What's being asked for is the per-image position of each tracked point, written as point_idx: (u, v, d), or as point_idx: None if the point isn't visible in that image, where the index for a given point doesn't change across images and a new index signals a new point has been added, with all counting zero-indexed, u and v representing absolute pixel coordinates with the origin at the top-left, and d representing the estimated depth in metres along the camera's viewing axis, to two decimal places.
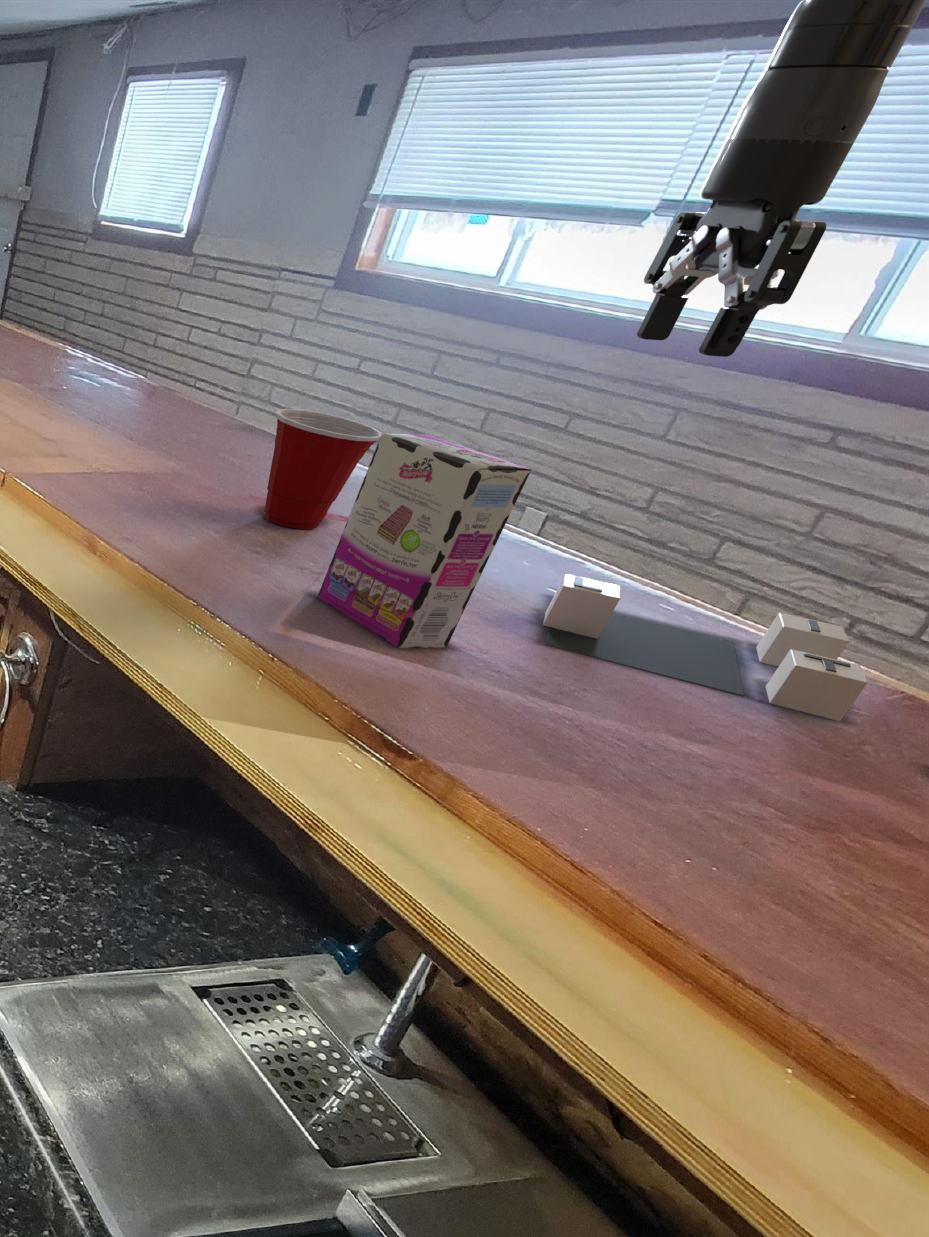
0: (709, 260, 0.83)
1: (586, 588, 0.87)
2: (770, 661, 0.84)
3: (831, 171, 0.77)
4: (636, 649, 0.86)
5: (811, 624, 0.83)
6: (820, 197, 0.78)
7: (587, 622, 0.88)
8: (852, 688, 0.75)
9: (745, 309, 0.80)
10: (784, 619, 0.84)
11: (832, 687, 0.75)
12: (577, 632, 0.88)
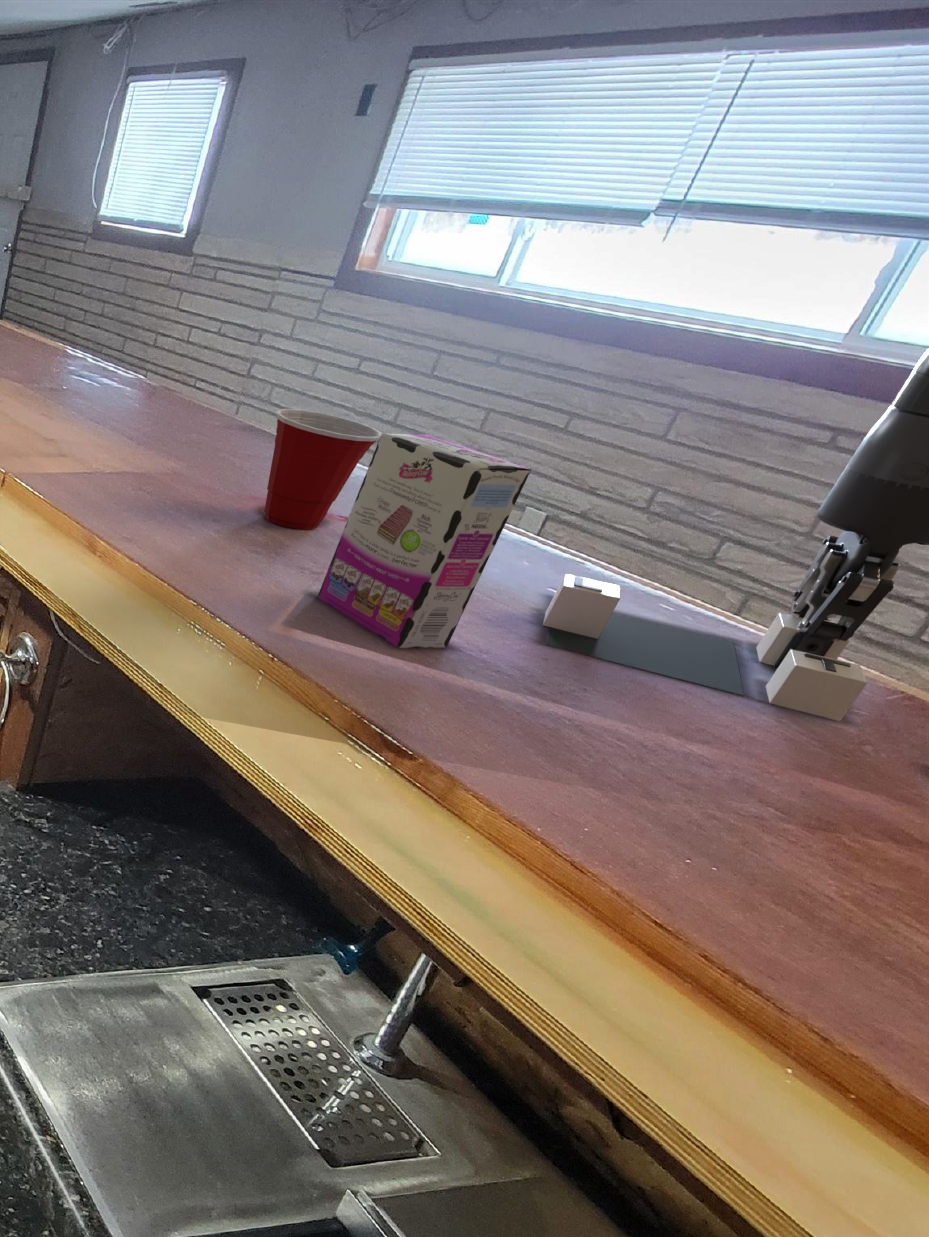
0: None
1: (586, 588, 0.87)
2: (770, 661, 0.84)
3: None
4: (636, 649, 0.86)
5: None
6: None
7: (587, 622, 0.88)
8: (852, 688, 0.75)
9: (812, 638, 0.81)
10: (784, 619, 0.84)
11: (832, 687, 0.75)
12: (577, 632, 0.88)
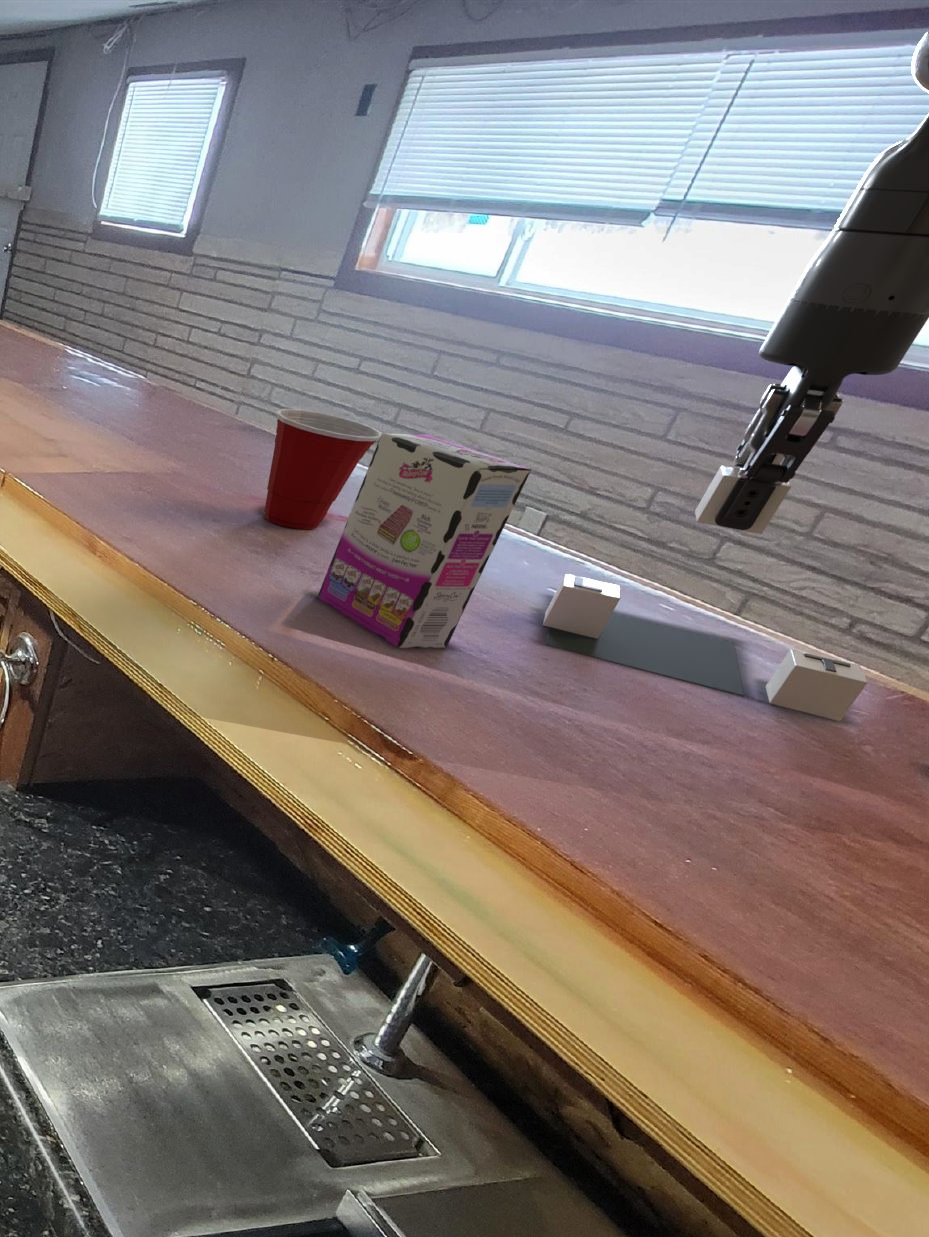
0: None
1: (586, 588, 0.87)
2: (711, 514, 0.80)
3: (884, 341, 0.71)
4: (636, 649, 0.86)
5: None
6: (875, 368, 0.71)
7: (587, 622, 0.88)
8: (852, 688, 0.75)
9: (753, 483, 0.77)
10: (725, 470, 0.80)
11: (832, 687, 0.75)
12: (577, 632, 0.88)
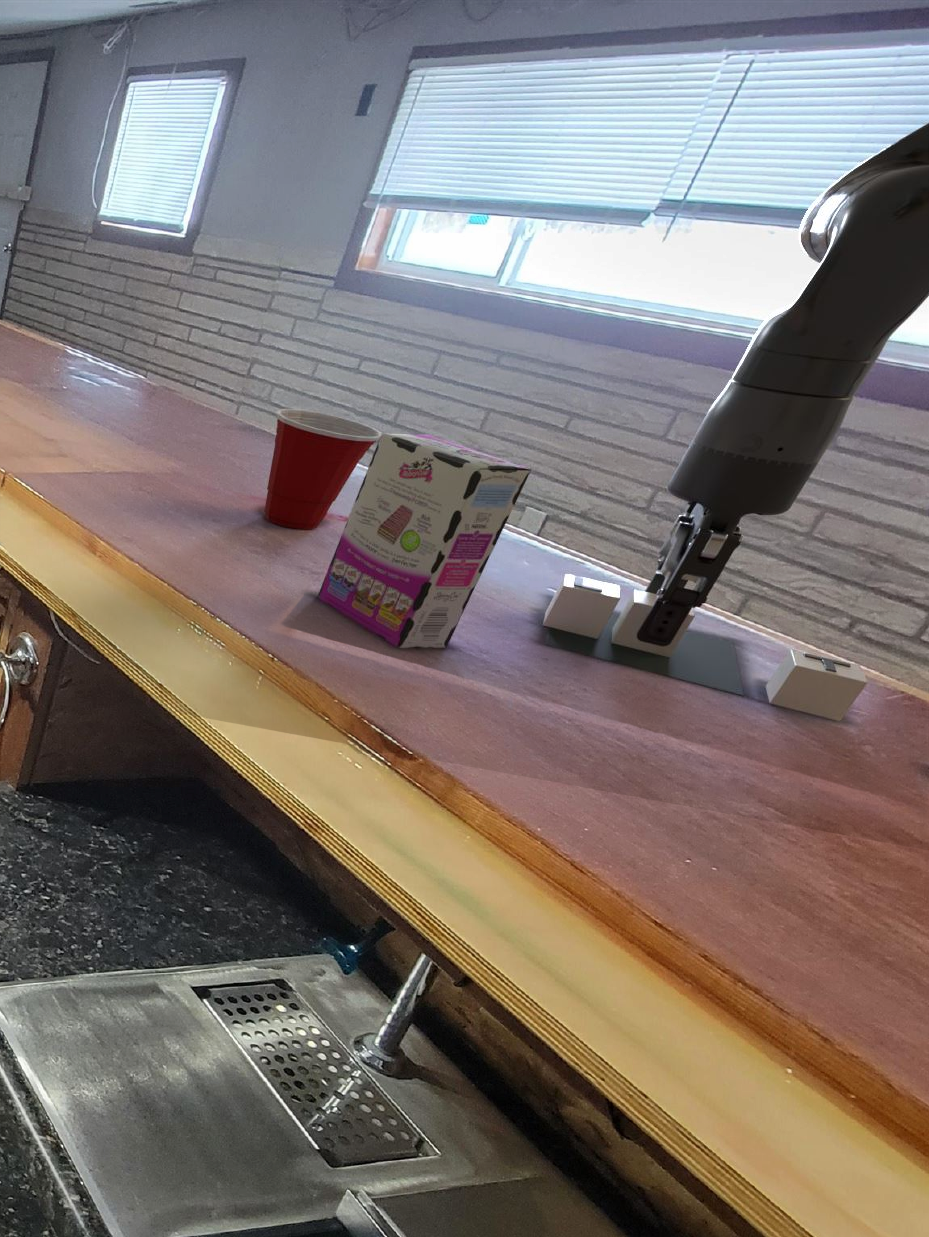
0: None
1: (586, 588, 0.87)
2: (624, 636, 0.86)
3: (775, 487, 0.76)
4: (636, 649, 0.86)
5: None
6: (769, 510, 0.77)
7: (587, 622, 0.88)
8: (852, 688, 0.75)
9: (670, 604, 0.81)
10: (637, 595, 0.86)
11: (832, 687, 0.75)
12: (577, 632, 0.88)
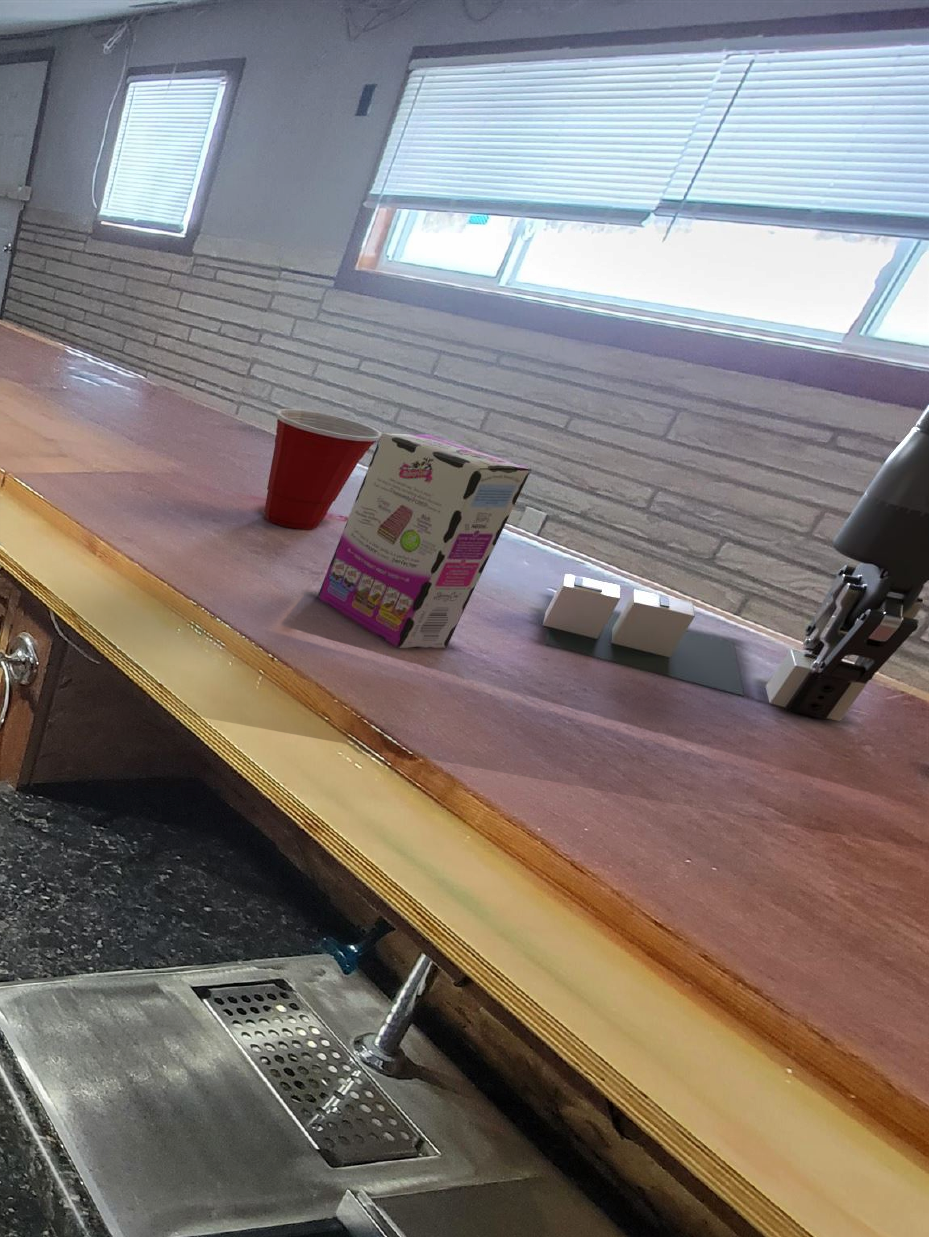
0: None
1: (586, 588, 0.87)
2: (624, 636, 0.86)
3: None
4: (636, 649, 0.86)
5: (662, 600, 0.85)
6: None
7: (587, 622, 0.88)
8: (852, 688, 0.75)
9: (828, 679, 0.74)
10: (637, 595, 0.86)
11: None
12: (577, 632, 0.88)
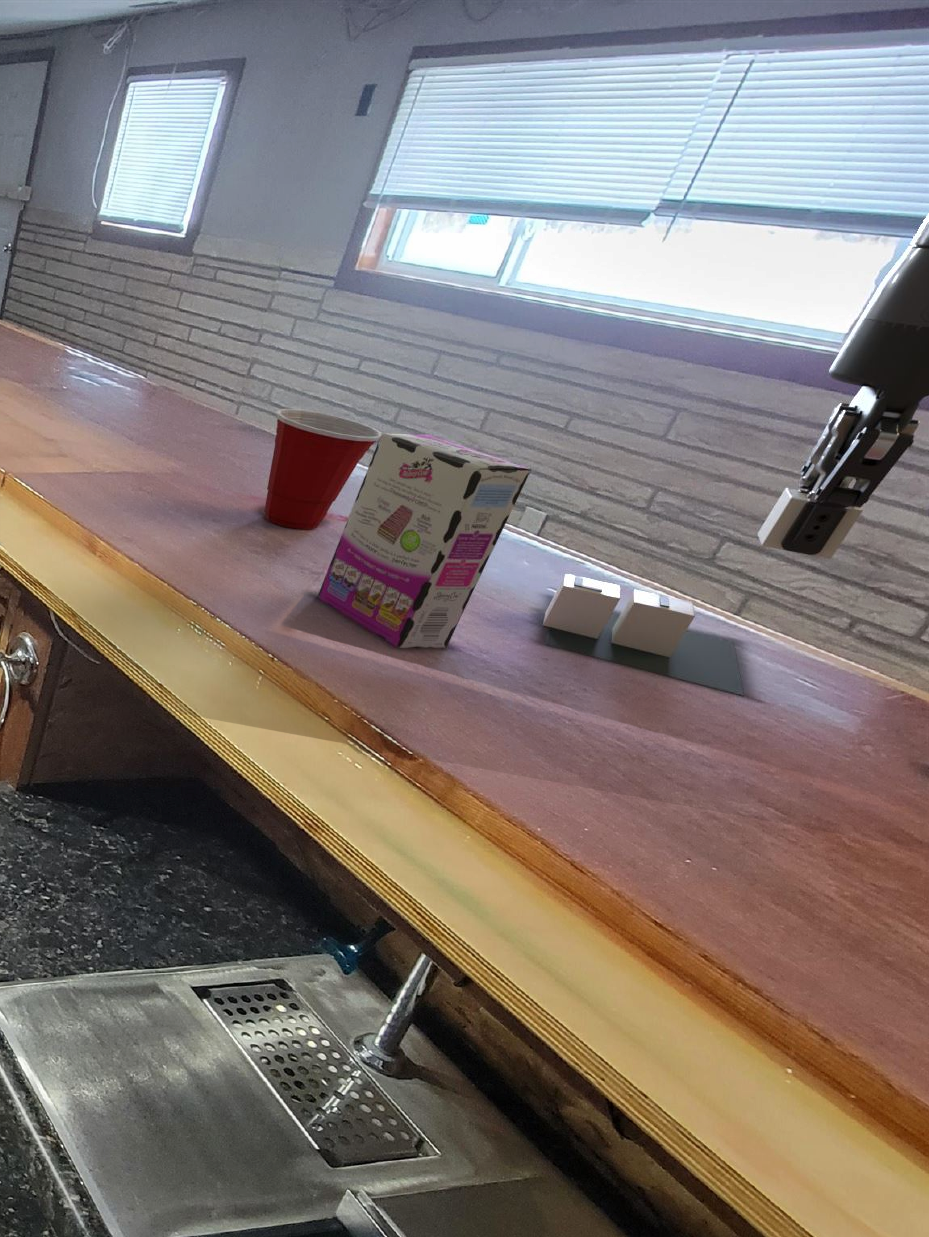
0: None
1: (586, 588, 0.87)
2: (624, 636, 0.86)
3: None
4: (636, 649, 0.86)
5: (662, 600, 0.85)
6: None
7: (587, 622, 0.88)
8: (847, 517, 0.75)
9: (823, 507, 0.75)
10: (637, 595, 0.86)
11: None
12: (577, 632, 0.88)
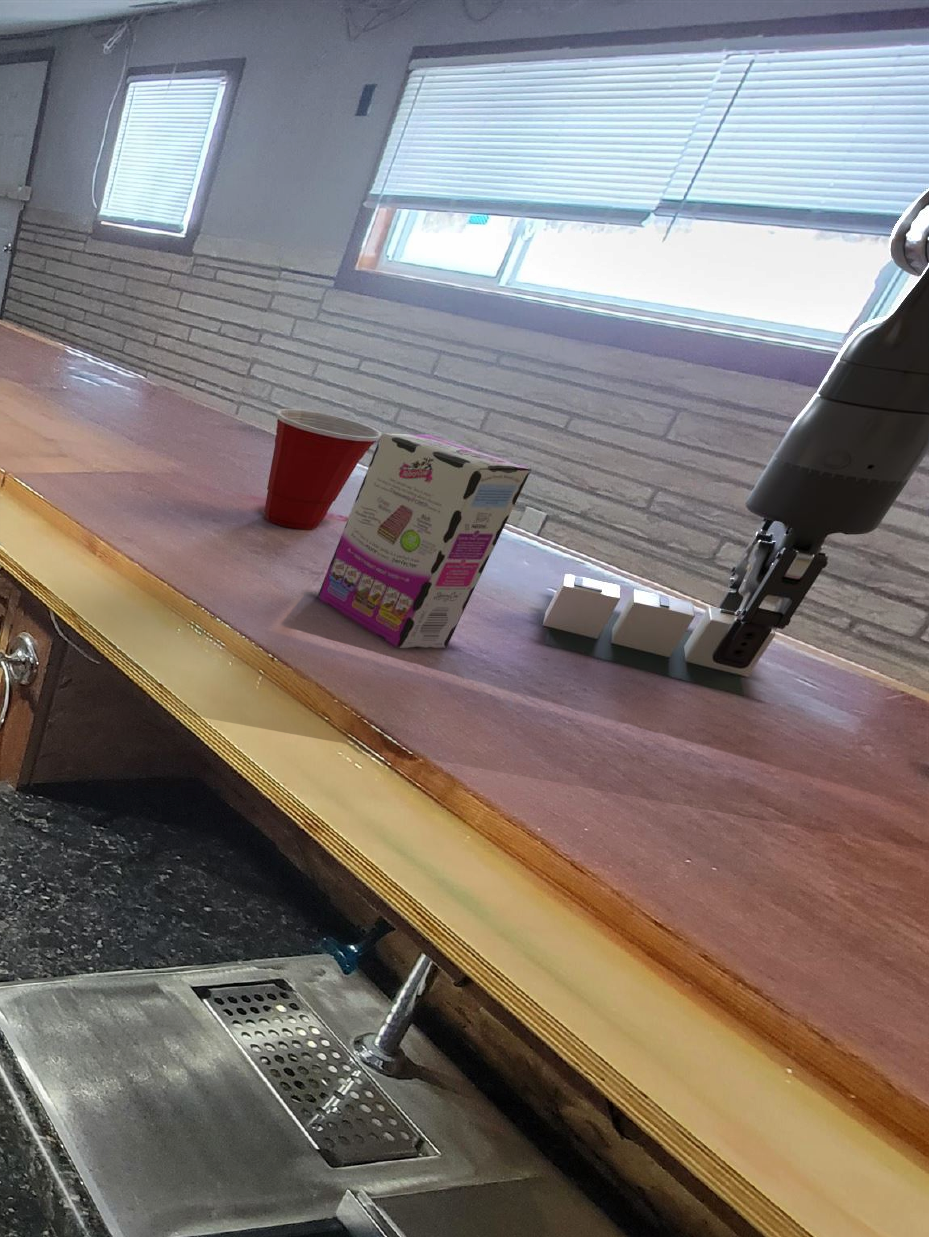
0: None
1: (586, 588, 0.87)
2: (624, 636, 0.86)
3: (864, 506, 0.74)
4: (636, 649, 0.86)
5: (662, 600, 0.85)
6: (856, 529, 0.75)
7: (587, 622, 0.88)
8: None
9: (749, 626, 0.78)
10: (637, 595, 0.86)
11: None
12: (577, 632, 0.88)
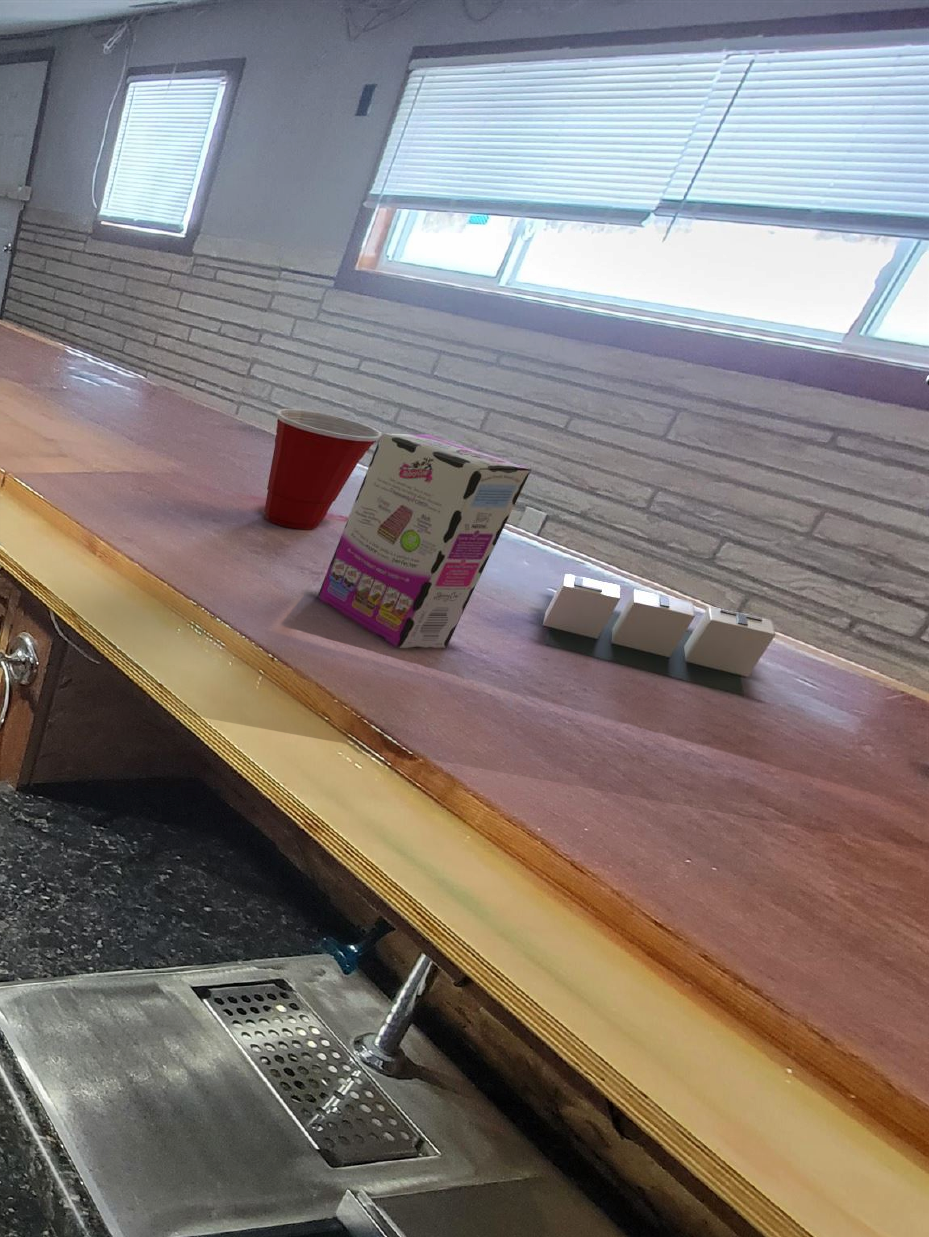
0: None
1: (586, 588, 0.87)
2: (624, 636, 0.86)
3: None
4: (636, 649, 0.86)
5: (662, 600, 0.85)
6: None
7: (587, 622, 0.88)
8: (762, 640, 0.81)
9: None
10: (637, 595, 0.86)
11: (744, 639, 0.81)
12: (577, 632, 0.88)
